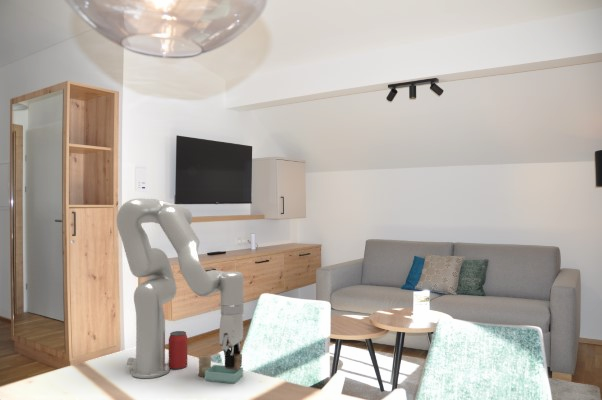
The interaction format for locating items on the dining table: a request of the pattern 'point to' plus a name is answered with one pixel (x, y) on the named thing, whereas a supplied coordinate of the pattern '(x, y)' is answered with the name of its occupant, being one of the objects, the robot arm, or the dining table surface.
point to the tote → (223, 374)
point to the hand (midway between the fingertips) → (232, 364)
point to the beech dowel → (204, 364)
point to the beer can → (178, 350)
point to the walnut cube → (236, 362)
